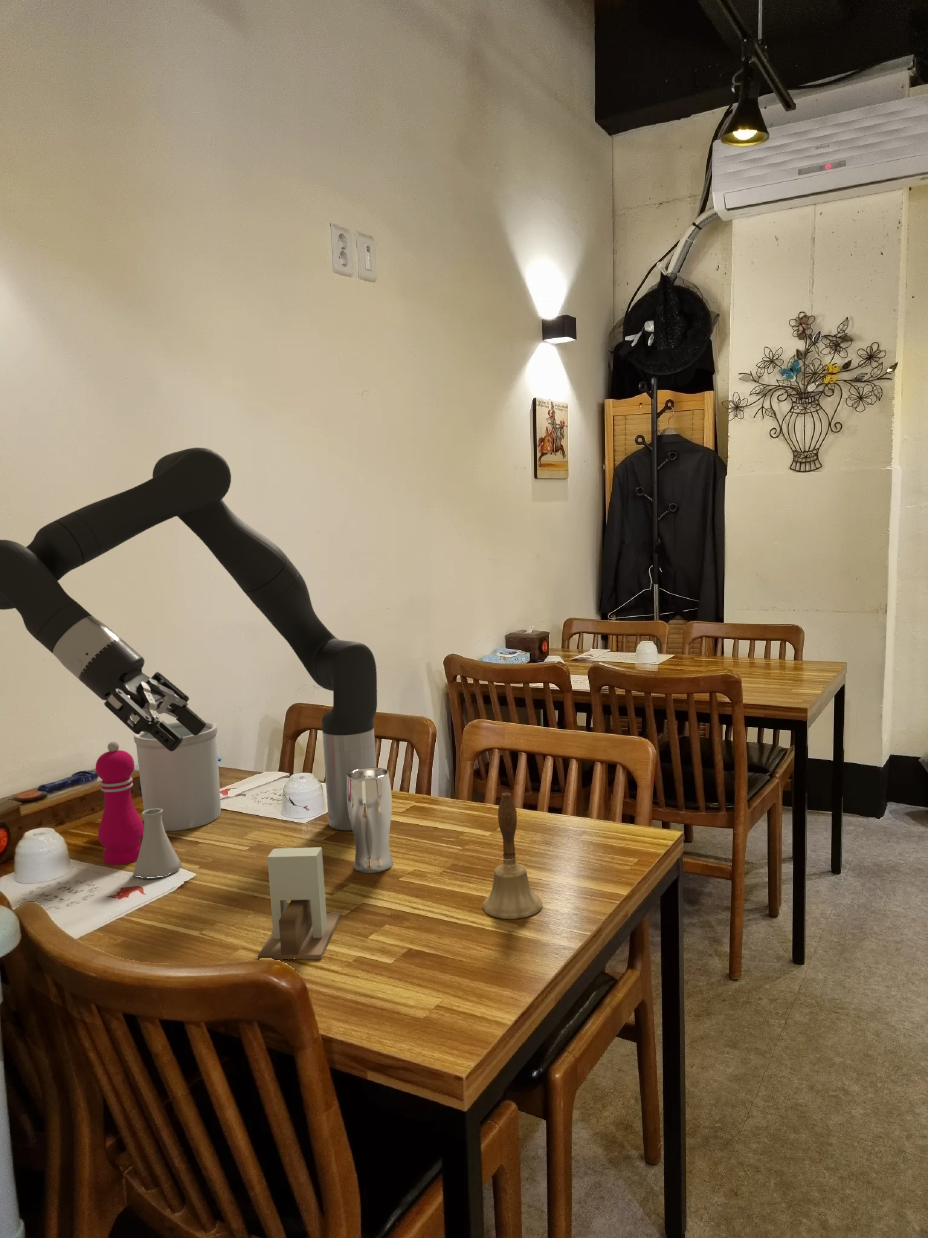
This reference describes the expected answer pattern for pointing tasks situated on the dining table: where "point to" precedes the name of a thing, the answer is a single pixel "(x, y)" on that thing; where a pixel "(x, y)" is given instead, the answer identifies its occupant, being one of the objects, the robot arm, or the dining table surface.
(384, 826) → the beer glass
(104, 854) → the pepper mill
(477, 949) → the dining table surface
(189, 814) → the utensil holder
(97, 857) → the dining table surface
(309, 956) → the walnut rail
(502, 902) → the hand bell
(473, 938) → the dining table surface
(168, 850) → the flask
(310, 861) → the pale slotted block
